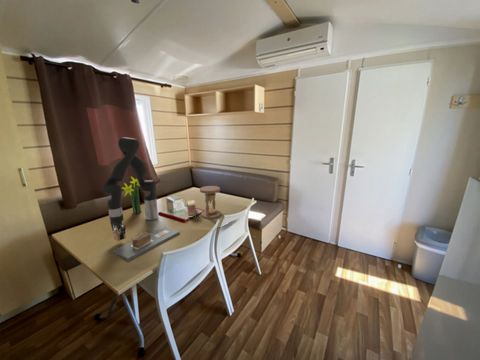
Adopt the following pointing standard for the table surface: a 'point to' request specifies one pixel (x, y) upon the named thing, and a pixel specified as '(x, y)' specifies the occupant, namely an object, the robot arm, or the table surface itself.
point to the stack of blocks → (191, 208)
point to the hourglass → (210, 196)
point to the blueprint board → (156, 239)
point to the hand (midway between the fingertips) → (119, 238)
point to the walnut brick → (141, 239)
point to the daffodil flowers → (136, 195)
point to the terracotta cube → (117, 235)
